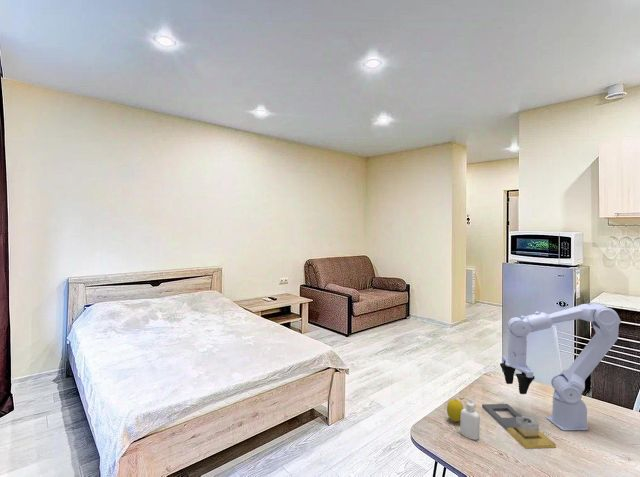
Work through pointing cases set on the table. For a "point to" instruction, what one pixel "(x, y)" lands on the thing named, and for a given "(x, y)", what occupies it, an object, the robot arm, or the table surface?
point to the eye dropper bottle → (470, 421)
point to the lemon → (454, 409)
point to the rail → (510, 427)
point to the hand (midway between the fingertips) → (515, 388)
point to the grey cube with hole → (527, 427)
